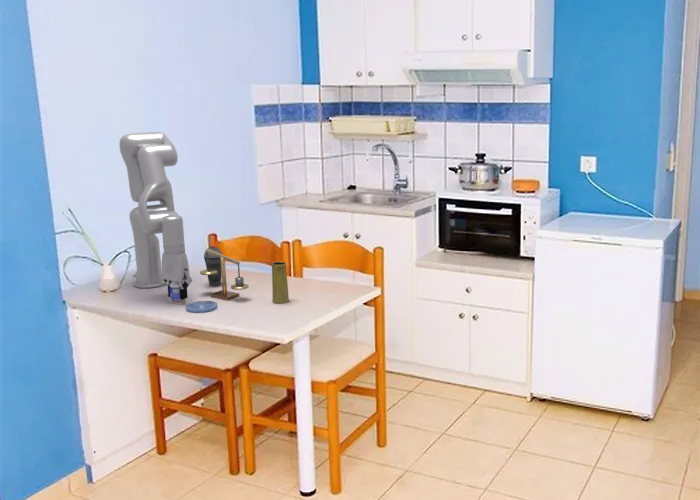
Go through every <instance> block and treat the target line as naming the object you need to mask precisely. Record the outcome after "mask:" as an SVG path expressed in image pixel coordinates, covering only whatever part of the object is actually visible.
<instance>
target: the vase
mask: <svg viewBox="0 0 700 500" xmlns="http://www.w3.org/2000/svg"><path fill="white" fill-rule="evenodd" d="M287 274H288V273H287V262H285V261H274V262H272V263H271V279H272V281H271V282H272V283H271V284H272V285H271V286H272V303H274V304H286V303H288V302H290V298H289V287H288V285H289V284H288V275H287Z"/></svg>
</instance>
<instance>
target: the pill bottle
mask: <svg viewBox="0 0 700 500" xmlns="http://www.w3.org/2000/svg"><path fill="white" fill-rule="evenodd" d="M182 283H183V284H184V282H182ZM180 289H181V288H180V285H179V282H175V281H172V282H171V283H170V297H169V298H170V303H171V304H172V305H181V304H184V303H186V299H187V298H186V299H183V300H181V299H180V291H179V290H180Z"/></svg>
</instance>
